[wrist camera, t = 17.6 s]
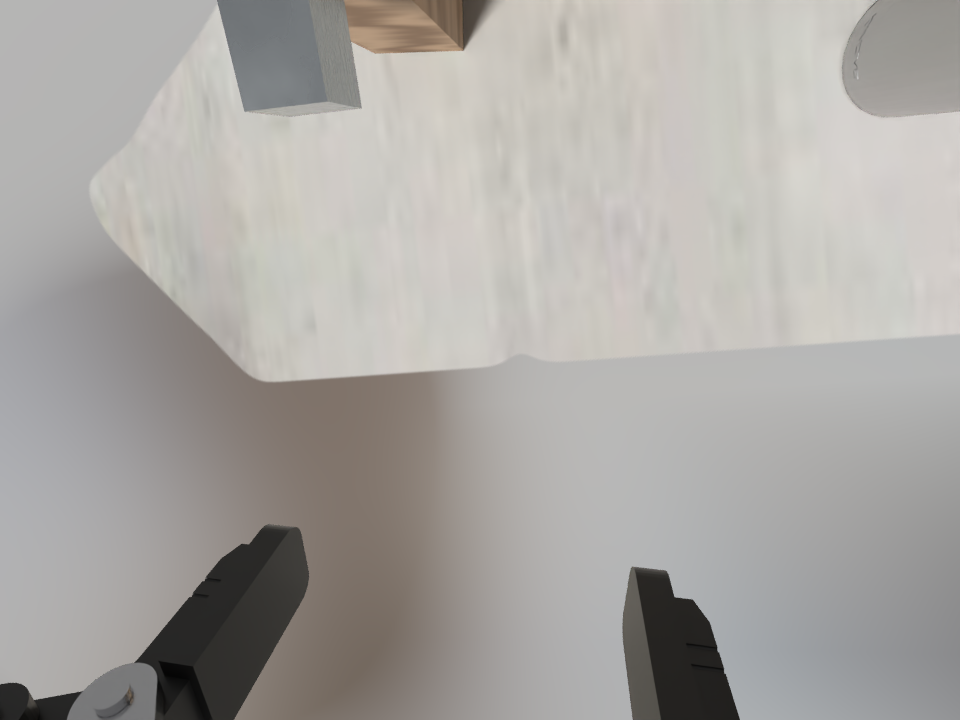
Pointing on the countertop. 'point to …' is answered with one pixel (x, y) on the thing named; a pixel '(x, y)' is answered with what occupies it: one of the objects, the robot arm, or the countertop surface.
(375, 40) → the walnut block
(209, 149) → the countertop surface
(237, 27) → the tin
